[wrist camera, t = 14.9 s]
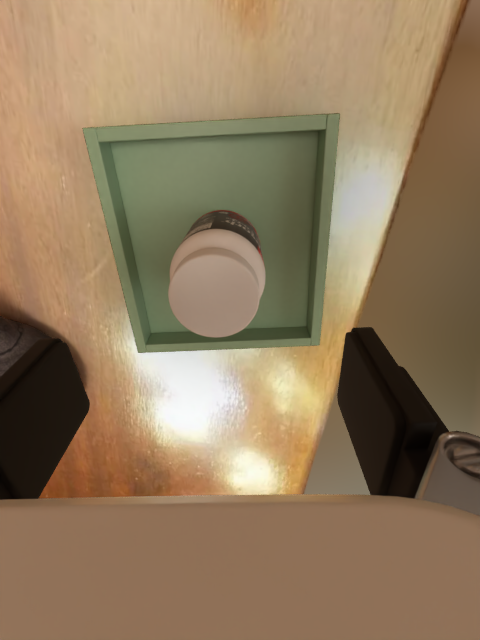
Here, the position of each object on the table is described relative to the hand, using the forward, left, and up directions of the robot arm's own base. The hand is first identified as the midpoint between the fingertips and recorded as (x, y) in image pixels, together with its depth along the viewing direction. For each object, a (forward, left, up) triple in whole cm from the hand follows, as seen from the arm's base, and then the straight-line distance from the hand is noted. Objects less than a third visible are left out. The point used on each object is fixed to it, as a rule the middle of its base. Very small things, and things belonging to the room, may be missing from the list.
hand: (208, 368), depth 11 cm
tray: (0, 0, -16) cm, 16 cm away
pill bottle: (0, 0, -16) cm, 16 cm away
